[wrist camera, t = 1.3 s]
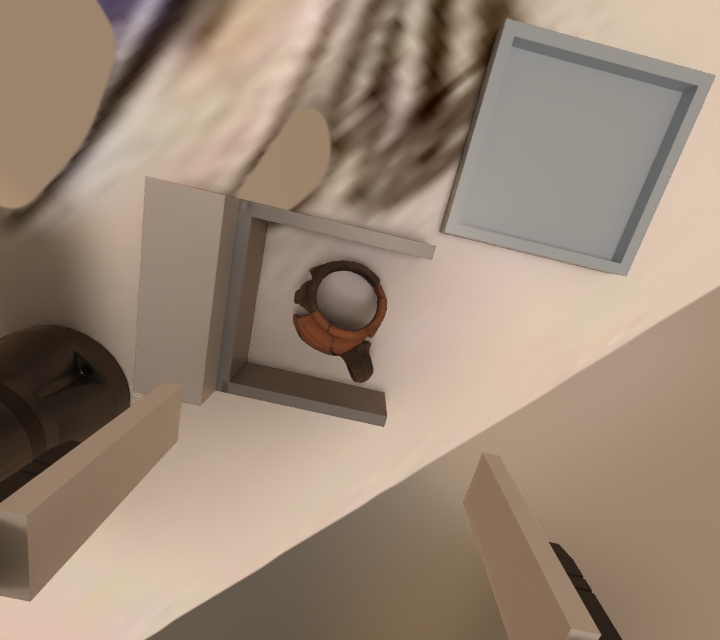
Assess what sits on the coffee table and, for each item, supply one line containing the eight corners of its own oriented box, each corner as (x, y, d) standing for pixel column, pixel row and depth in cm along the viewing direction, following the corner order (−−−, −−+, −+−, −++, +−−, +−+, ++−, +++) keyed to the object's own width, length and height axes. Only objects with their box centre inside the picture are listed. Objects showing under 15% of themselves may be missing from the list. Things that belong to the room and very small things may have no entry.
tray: (439, 232, 33) (444, 232, 31) (496, 33, 29) (506, 18, 27) (610, 273, 34) (626, 276, 32) (690, 86, 30) (715, 75, 28)
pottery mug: (274, 298, 36) (277, 274, 28) (349, 265, 39) (370, 236, 31) (325, 398, 36) (342, 402, 28) (397, 357, 39) (431, 350, 31)
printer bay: (181, 357, 37) (133, 391, 30) (197, 188, 33) (145, 176, 25) (382, 402, 38) (385, 445, 31) (426, 243, 34) (443, 248, 26)
